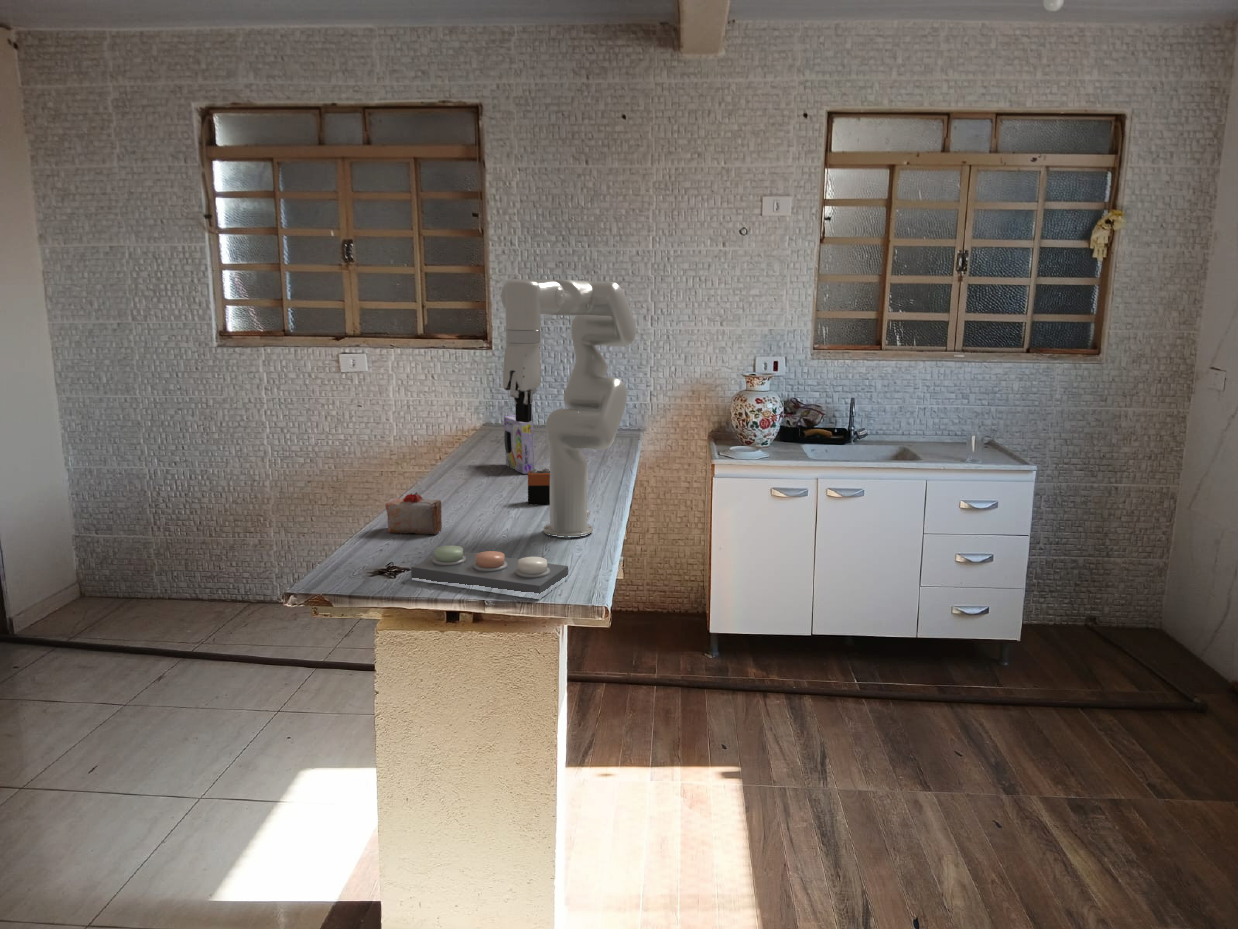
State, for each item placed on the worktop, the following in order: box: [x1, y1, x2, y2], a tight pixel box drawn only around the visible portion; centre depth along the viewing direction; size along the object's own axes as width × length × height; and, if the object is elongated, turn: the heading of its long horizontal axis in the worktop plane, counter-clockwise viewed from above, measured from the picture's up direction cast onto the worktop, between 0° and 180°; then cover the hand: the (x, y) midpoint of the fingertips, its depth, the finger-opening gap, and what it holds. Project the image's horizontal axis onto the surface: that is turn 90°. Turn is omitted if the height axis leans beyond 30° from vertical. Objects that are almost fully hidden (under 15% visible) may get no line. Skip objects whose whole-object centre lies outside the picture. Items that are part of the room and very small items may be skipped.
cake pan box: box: [503, 414, 536, 475], centre depth 303 cm, size 19×5×18 cm, turn 25°
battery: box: [527, 467, 550, 505], centre depth 257 cm, size 4×7×10 cm, turn 97°
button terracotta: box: [476, 550, 505, 568], centre depth 190 cm, size 6×6×2 cm
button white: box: [518, 556, 548, 574], centre depth 186 cm, size 6×6×2 cm
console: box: [410, 551, 569, 594], centre depth 190 cm, size 14×30×4 cm, turn 69°
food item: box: [385, 491, 443, 535], centre depth 226 cm, size 14×8×10 cm, turn 83°
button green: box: [434, 545, 464, 562], centre depth 193 cm, size 6×6×2 cm
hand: (523, 421), depth 199 cm, fingers closed
